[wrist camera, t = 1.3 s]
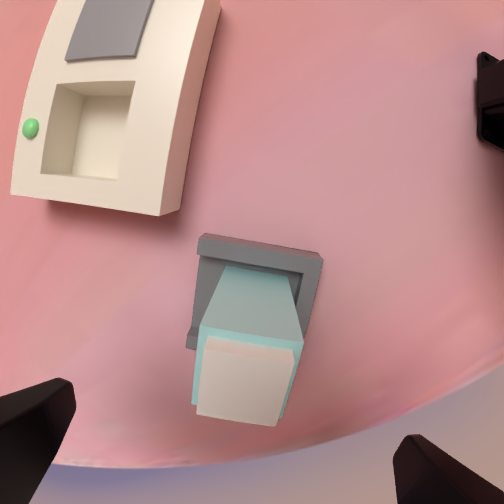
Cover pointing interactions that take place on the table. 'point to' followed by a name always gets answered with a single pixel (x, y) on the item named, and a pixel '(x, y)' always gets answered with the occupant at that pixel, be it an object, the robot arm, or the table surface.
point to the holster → (257, 259)
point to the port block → (114, 103)
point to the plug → (247, 348)
